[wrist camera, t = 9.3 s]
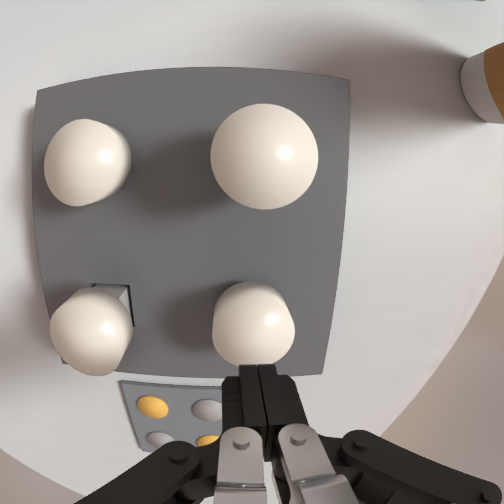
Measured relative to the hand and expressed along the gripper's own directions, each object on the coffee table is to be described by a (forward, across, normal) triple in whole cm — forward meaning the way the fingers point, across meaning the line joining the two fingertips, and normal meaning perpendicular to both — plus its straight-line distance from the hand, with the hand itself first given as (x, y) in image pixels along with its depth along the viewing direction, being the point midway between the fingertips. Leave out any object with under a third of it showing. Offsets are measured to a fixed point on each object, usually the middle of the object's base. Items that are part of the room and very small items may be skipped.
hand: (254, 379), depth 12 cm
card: (+9, +5, +14) cm, 17 cm away
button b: (+8, +9, 0) cm, 11 cm away
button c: (+8, 0, -9) cm, 12 cm away
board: (+9, +4, -4) cm, 11 cm away
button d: (+9, 0, 0) cm, 9 cm away
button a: (+9, +9, -9) cm, 15 cm away
